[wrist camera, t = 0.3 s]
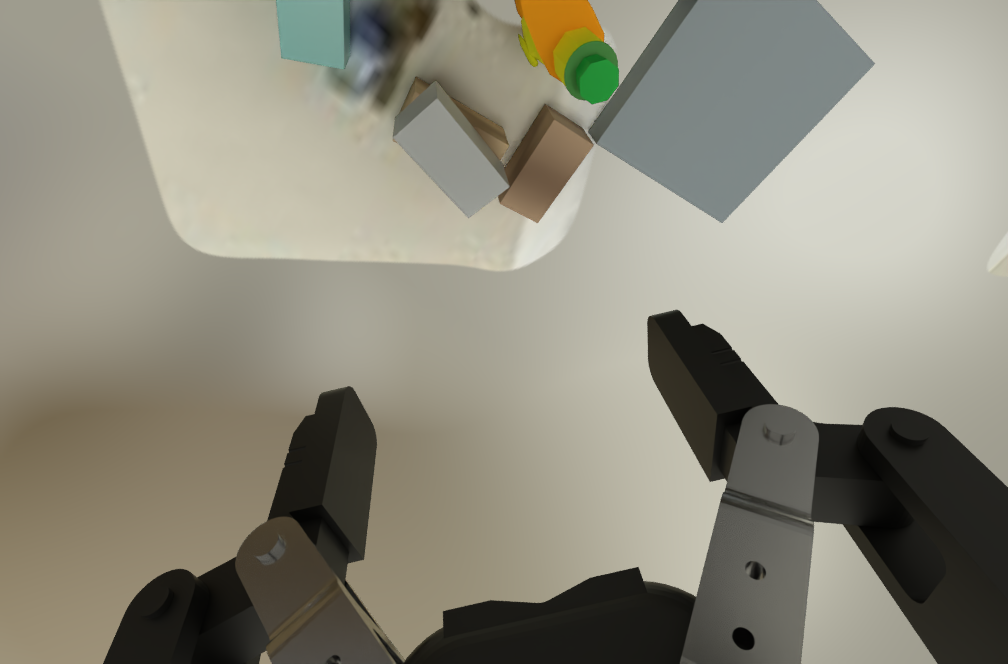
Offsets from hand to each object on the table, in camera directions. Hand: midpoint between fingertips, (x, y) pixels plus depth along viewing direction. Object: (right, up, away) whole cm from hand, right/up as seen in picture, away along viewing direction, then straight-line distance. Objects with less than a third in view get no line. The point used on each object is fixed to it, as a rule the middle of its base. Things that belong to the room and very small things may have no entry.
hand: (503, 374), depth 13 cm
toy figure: (+2, +19, +13) cm, 23 cm away
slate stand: (+14, +16, +18) cm, 28 cm away
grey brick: (-3, +12, +15) cm, 19 cm away
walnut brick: (+2, +13, +19) cm, 23 cm away
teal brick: (-9, +19, +12) cm, 24 cm away
